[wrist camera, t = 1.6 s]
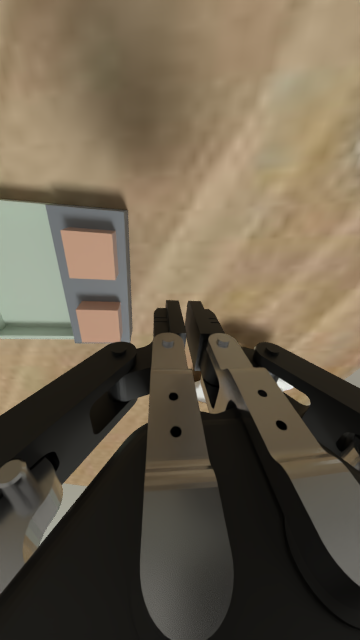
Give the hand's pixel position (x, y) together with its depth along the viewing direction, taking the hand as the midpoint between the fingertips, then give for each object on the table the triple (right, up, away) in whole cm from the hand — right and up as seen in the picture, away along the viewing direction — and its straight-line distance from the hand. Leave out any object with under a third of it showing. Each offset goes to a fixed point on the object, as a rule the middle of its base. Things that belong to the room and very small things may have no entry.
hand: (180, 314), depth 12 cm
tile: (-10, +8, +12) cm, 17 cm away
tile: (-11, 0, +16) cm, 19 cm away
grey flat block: (-11, +6, +17) cm, 22 cm away
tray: (-21, +6, +16) cm, 27 cm away
